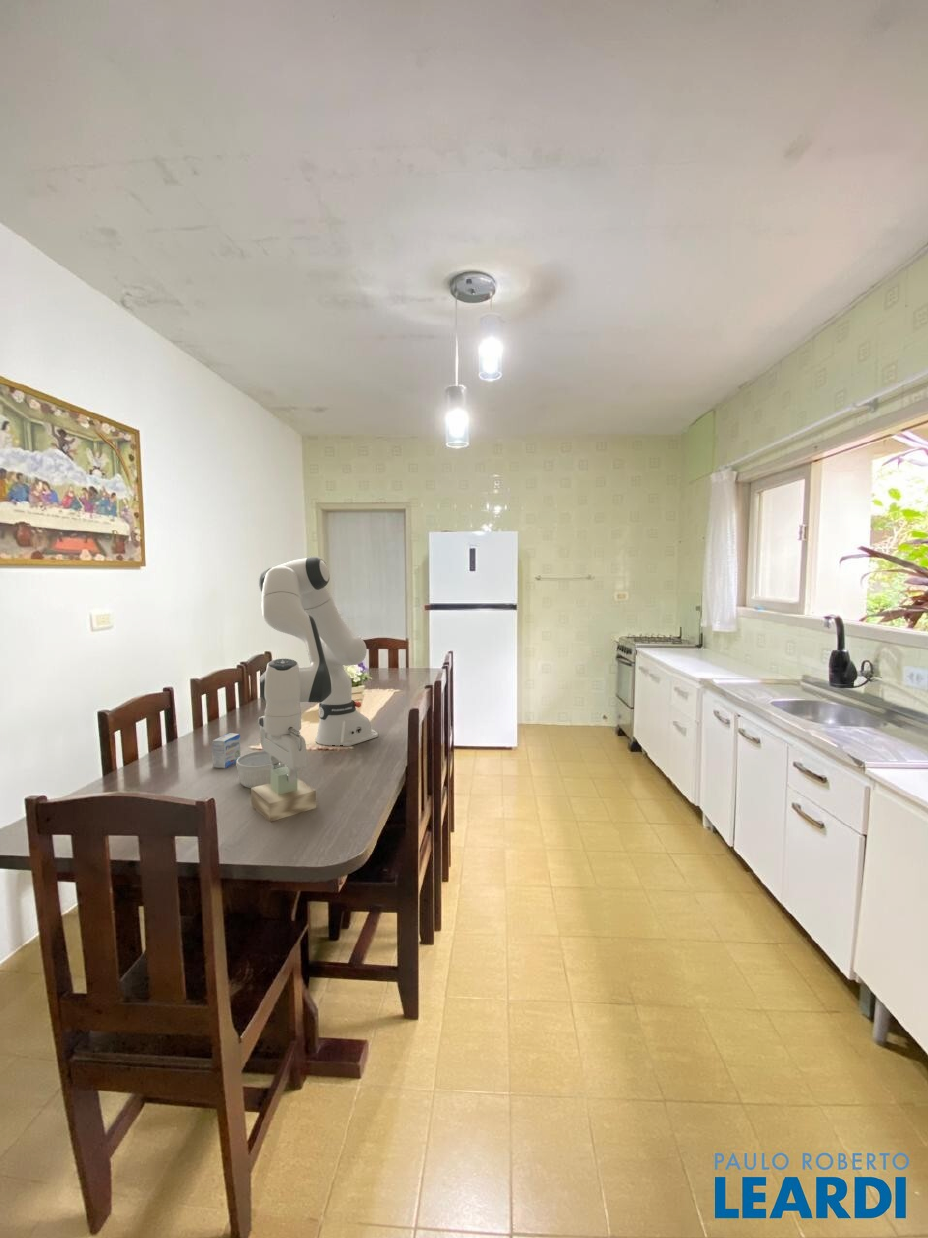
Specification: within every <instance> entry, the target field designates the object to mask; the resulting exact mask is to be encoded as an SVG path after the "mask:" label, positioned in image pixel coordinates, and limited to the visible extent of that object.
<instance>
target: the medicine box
mask: <svg viewBox="0 0 928 1238" xmlns="http://www.w3.org/2000/svg"><path fill="white" fill-rule="evenodd" d="M211 753H212V754H211V756H212V757H211V758H212V768H217V769H227V768H229V767H231V766H232V765H234V764H236V760H237V759H238V758H239V757H240V756H241V734H239V733H233V732H231V733H230V732H229V733H227V734H224V735H222V736H220V737H217V738H215V739H213V740H212V741H211Z"/></svg>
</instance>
